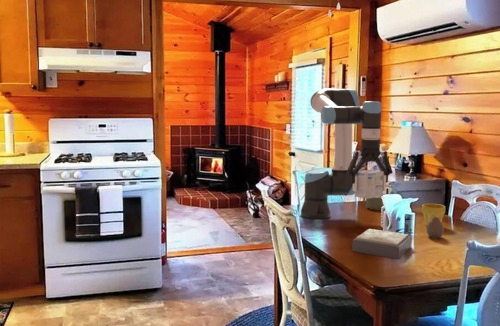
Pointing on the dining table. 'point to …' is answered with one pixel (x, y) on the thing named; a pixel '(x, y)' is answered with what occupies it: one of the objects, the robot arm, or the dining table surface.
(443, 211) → the plant pot
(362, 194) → the light bulb box
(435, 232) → the gray brown egg
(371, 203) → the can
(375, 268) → the dining table surface
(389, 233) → the stand
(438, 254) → the dining table surface
